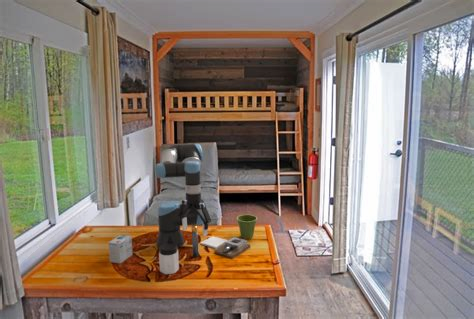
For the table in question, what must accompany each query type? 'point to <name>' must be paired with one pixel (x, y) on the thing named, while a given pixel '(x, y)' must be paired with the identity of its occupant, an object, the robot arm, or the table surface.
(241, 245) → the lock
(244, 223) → the plant pot
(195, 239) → the copper and gray cylinder
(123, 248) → the light bulb box
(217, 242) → the mat
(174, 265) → the jar
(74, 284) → the table surface
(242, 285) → the table surface
